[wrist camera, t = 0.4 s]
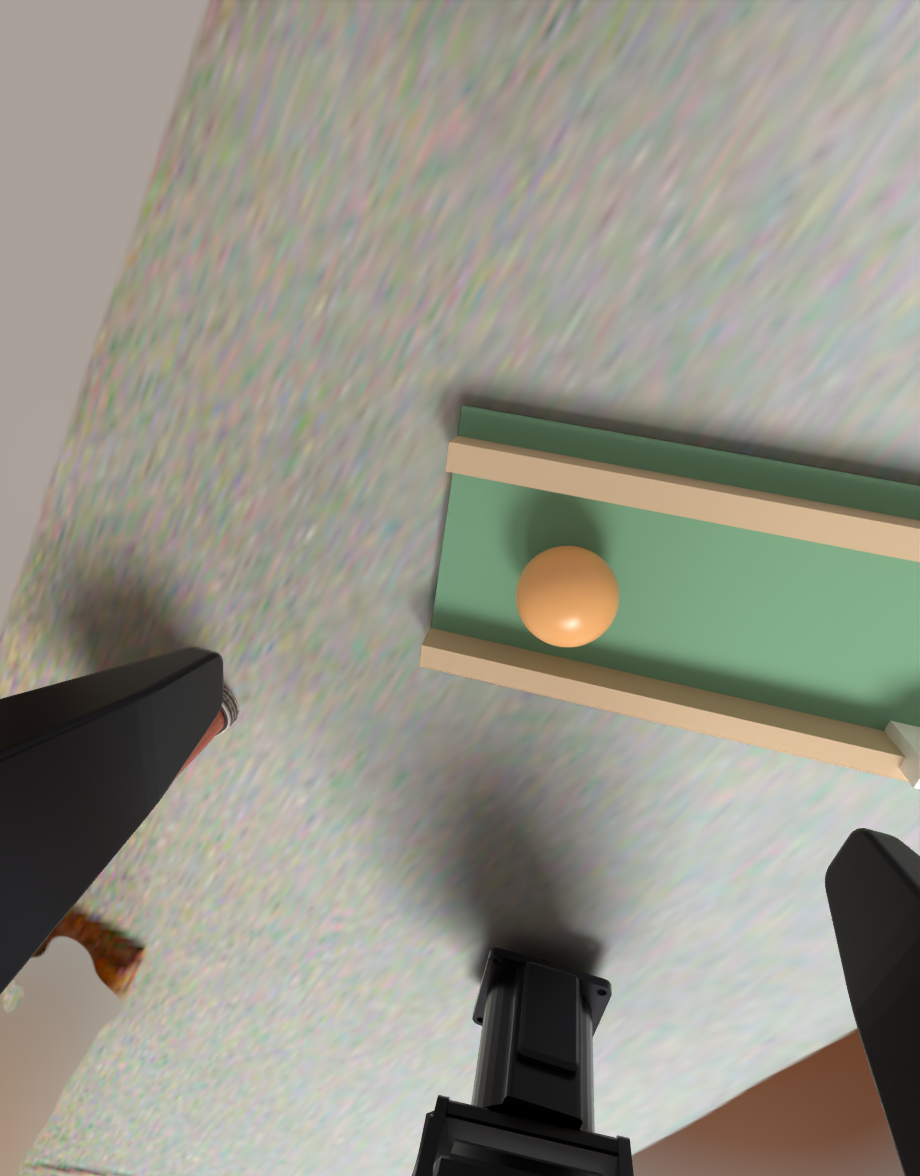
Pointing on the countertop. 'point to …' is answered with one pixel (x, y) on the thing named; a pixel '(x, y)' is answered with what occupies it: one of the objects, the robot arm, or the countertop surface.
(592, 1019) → the robot arm
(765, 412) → the countertop surface
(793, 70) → the countertop surface
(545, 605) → the ball
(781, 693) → the track
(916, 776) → the white u-shaped frame
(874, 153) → the countertop surface
